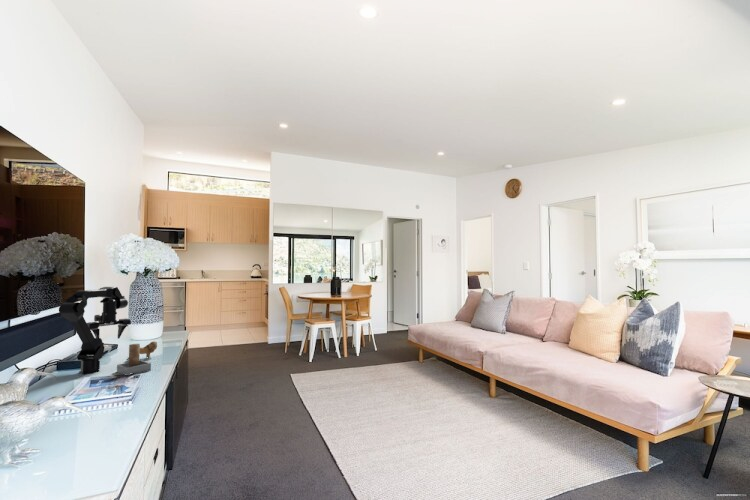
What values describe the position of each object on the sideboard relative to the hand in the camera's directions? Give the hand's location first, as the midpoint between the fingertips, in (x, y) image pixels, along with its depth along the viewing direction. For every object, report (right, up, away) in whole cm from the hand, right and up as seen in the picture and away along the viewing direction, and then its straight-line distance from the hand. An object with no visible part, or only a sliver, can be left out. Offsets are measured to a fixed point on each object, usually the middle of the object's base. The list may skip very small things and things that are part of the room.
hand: (108, 340), depth 189 cm
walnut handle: (+21, -12, -11) cm, 27 cm away
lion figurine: (+10, -14, +12) cm, 21 cm away
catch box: (+21, -13, -11) cm, 27 cm away
